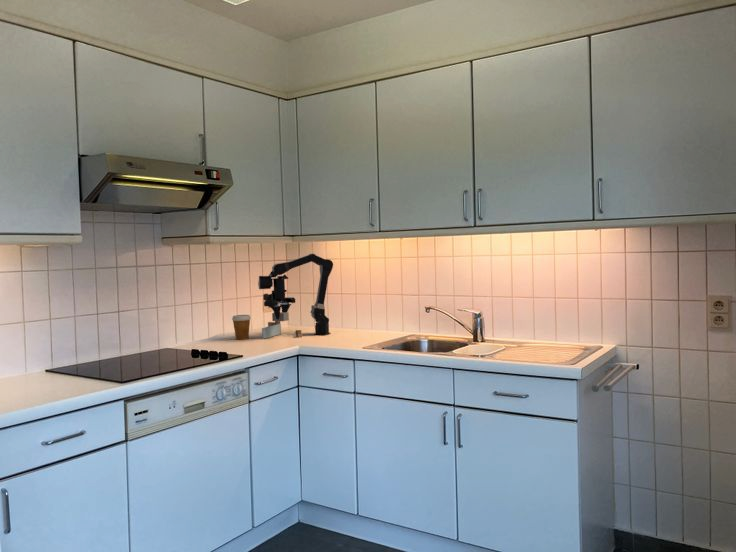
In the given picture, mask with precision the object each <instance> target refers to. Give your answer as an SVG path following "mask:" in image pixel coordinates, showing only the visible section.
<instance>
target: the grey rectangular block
mask: <svg viewBox="0 0 736 552" xmlns="http://www.w3.org/2000/svg"><path fill="white" fill-rule="evenodd" d="M271 315H272V316H271V319H272V320H271V322H275V321H280V322H286V321H287V322H288V321H290V320H289V319H290V318H289V315H290V313H289V312H288V311H287V312H282V311H280V315H279V319H276V316H275V314H274V312H273V313H271Z"/></svg>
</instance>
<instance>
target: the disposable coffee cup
mask: <svg viewBox="0 0 736 552" xmlns="http://www.w3.org/2000/svg"><path fill="white" fill-rule="evenodd" d="M231 320H232V324H233V328H234V329H233V330H234V334H235V339H236V341H237V340H238V341H242V340H243V341H244V340H248V339H249V335H250V323H251V315H250V314H237V315H232V318H231Z"/></svg>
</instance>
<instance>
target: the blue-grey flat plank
mask: <svg viewBox="0 0 736 552" xmlns="http://www.w3.org/2000/svg"><path fill="white" fill-rule="evenodd" d="M279 335H282V324H281V323H280V324H277V325H273V326H269V327H268V326H264V327H261V338H262V339H267V338H270V337H271V338H272V337H275V336H279Z"/></svg>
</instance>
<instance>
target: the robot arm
mask: <svg viewBox="0 0 736 552" xmlns="http://www.w3.org/2000/svg"><path fill="white" fill-rule="evenodd" d="M311 262H312V263H314V264H316V265H317V266H319V282H318V288H317V293H316V294H317V295H316V299H315V303H314V305H311V310H310V311H309V312H310V316H311V317H312V319H313V320H314V321H315V325H314V329H315V330H314V333H313V334H314V336H315V335H316V336H327V335H330V334H331V332H330V324H329V322H330V318H329V317H328V316H326V309H325V299H326V293H327V287H328V283H329V281H328V280H329V277H330V275H331V273H332V271H333V268H334V262H333V260H331V259H327V258H326V259H325V258H323V257H321V256H318V255H316V254H315V253H309V254H307V255H303V256H301V257H298V258H295V259H292V260H290V261H285V262H278V263H274V264H273V266H272V267H271V271H270V273H269V274H268V275H258V289H259V290H270V289H271V288H272V287H273V289H272V290H271V293H270V294H269V293H263V295H262V298H263V299H262V300H263V301H264V302H263V306H264V307H268V308H270V309H272V311H273V313H274V314H275V316H276V319H279V315H280V312H288V311H289V309H290V307H291V306H292V304H296V298H295V297H290V296H288V297H286V293H287V291H288V290H287V289H286V283H285V282H286V281H285V280H288V279H289V277H288V276H287V275H286V273H287V272H288V271H290V270H292V269H294V268H295V269H296V268H297V267H301V266H303V265H306V264H309V263H311Z"/></svg>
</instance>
